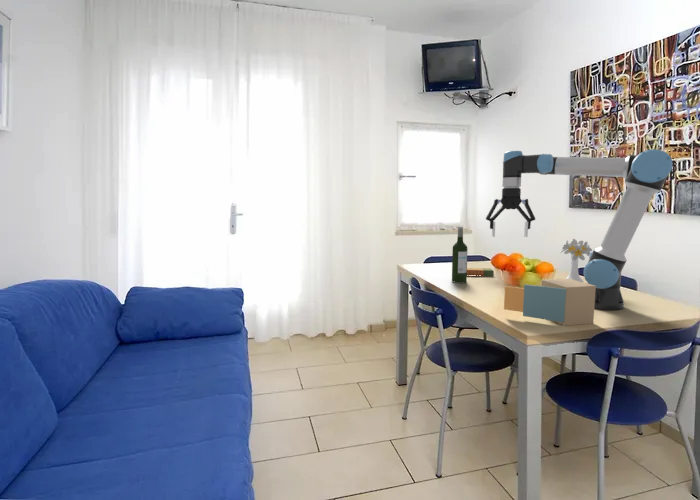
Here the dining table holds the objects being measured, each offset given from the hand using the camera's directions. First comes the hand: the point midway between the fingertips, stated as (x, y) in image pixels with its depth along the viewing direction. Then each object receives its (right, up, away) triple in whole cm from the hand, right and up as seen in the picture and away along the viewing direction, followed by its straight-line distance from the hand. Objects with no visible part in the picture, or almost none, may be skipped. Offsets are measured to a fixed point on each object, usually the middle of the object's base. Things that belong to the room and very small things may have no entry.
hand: (509, 236), depth 186 cm
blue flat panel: (-2, -31, -28) cm, 42 cm away
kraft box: (+12, -32, -25) cm, 43 cm away
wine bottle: (-10, -23, +46) cm, 53 cm away
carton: (+6, -21, +65) cm, 69 cm away
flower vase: (+41, -26, +23) cm, 54 cm away
